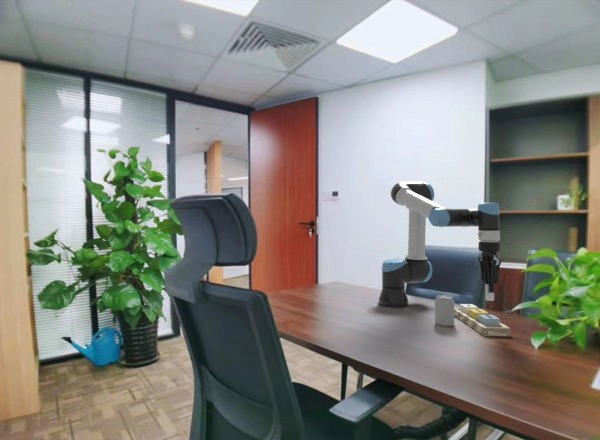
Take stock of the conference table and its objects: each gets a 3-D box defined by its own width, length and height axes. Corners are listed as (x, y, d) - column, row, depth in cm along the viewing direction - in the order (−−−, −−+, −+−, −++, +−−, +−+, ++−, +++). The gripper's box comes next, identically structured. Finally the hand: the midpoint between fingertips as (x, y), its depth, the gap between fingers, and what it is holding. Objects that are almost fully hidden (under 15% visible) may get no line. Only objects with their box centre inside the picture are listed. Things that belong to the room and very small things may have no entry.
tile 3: (478, 321, 137) (478, 314, 137) (492, 322, 137) (492, 314, 137) (485, 326, 132) (485, 318, 132) (499, 326, 132) (499, 318, 132)
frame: (451, 313, 158) (451, 307, 158) (473, 314, 158) (473, 307, 158) (484, 335, 128) (484, 328, 128) (510, 336, 128) (510, 328, 128)
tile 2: (468, 315, 146) (468, 308, 146) (481, 316, 146) (481, 308, 146) (474, 319, 141) (474, 312, 141) (488, 319, 140) (488, 312, 140)
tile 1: (459, 310, 155) (459, 303, 155) (472, 310, 155) (472, 303, 155) (465, 313, 149) (465, 306, 149) (478, 314, 149) (478, 306, 149)
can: (434, 325, 141) (434, 297, 141) (435, 320, 147) (436, 293, 147) (453, 328, 137) (453, 299, 137) (454, 323, 144) (454, 295, 144)
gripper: (471, 240, 141) (472, 296, 141) (487, 242, 128) (488, 304, 128) (490, 240, 141) (490, 296, 141) (508, 242, 128) (508, 304, 127)
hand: (489, 300), depth 134 cm, fingers closed
